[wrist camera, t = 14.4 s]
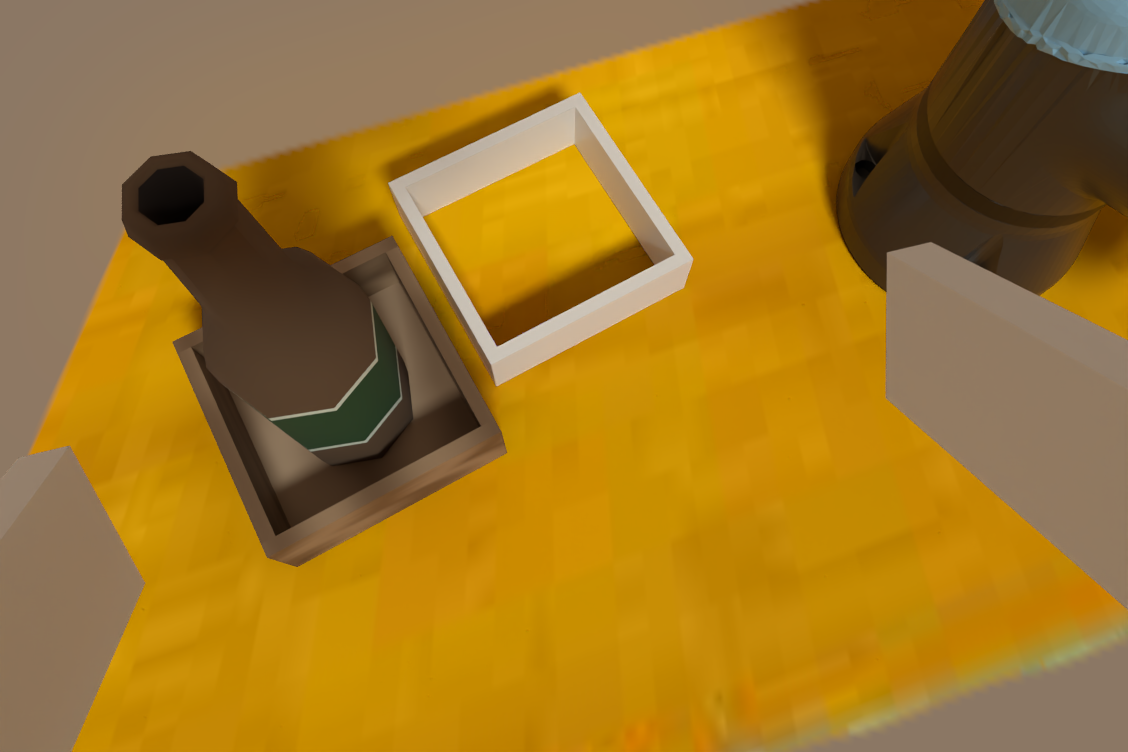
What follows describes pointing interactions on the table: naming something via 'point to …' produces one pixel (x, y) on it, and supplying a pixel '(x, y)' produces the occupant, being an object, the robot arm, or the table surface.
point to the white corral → (508, 156)
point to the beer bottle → (273, 314)
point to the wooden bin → (368, 488)
